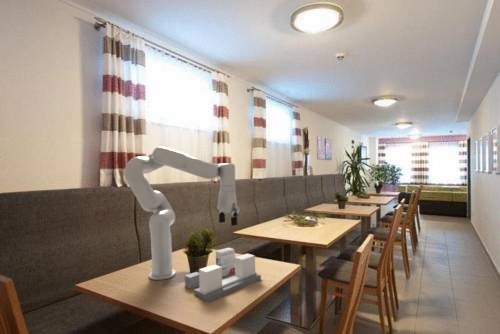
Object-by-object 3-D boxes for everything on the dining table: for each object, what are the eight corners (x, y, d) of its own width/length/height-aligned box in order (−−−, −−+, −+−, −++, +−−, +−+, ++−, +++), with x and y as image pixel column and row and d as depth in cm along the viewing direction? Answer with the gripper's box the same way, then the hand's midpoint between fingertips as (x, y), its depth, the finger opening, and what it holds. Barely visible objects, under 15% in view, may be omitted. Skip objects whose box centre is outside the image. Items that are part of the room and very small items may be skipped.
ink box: (229, 270, 152) (229, 246, 151) (235, 272, 148) (235, 248, 147) (215, 274, 146) (214, 250, 146) (221, 277, 142) (220, 252, 142)
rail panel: (194, 294, 124) (193, 268, 124) (245, 274, 145) (245, 251, 145) (208, 301, 117) (208, 274, 117) (260, 279, 138) (260, 256, 138)
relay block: (185, 286, 133) (184, 275, 133) (196, 282, 137) (195, 271, 137) (190, 289, 130) (189, 277, 130) (201, 284, 134) (201, 273, 134)
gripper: (211, 188, 150) (211, 222, 150) (232, 190, 137) (232, 227, 137) (223, 187, 155) (223, 220, 155) (244, 189, 142) (245, 225, 142)
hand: (228, 223), depth 146 cm, fingers open, 9 cm apart
